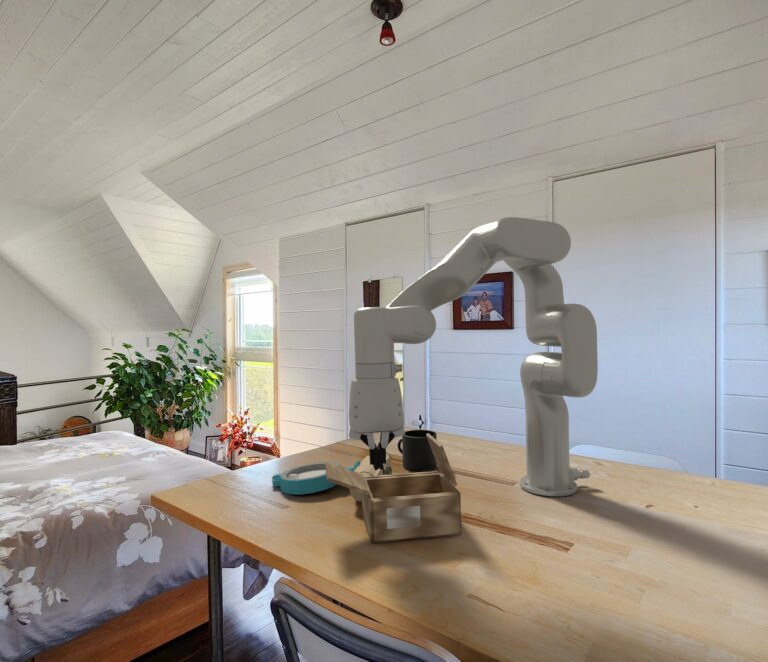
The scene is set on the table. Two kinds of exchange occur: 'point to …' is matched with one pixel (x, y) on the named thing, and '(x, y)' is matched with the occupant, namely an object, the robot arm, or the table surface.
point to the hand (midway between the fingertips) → (378, 467)
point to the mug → (417, 450)
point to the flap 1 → (346, 478)
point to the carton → (411, 507)
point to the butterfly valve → (323, 477)
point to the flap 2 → (441, 459)
